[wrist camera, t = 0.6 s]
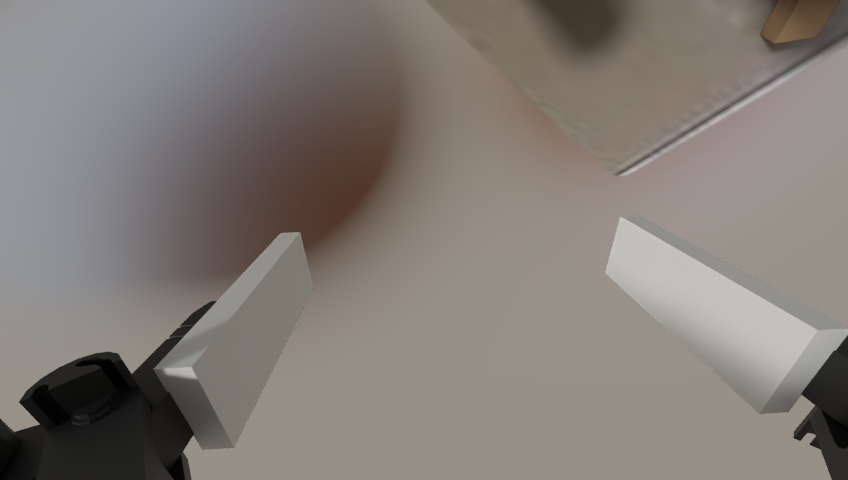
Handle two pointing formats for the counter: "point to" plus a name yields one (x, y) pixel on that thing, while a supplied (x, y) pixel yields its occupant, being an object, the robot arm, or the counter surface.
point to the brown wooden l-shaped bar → (797, 19)
